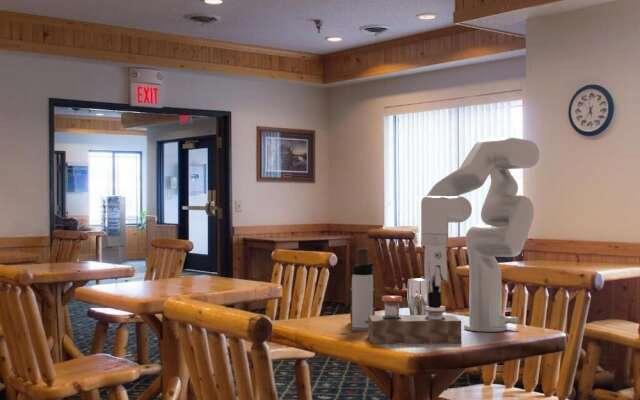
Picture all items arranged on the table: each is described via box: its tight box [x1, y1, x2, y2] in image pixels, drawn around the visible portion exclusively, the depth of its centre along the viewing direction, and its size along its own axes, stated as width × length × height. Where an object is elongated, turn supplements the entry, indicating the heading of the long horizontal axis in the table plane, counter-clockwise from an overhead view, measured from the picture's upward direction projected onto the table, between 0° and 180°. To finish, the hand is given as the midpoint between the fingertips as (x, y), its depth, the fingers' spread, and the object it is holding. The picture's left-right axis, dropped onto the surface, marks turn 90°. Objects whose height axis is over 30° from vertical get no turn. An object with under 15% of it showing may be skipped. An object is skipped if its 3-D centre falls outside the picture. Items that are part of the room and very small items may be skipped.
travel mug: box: [351, 262, 375, 332], centre depth 228 cm, size 6×7×20 cm
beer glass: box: [406, 278, 429, 315], centre depth 229 cm, size 7×7×15 cm
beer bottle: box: [349, 247, 376, 324], centre depth 243 cm, size 8×8×24 cm
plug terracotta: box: [381, 295, 403, 319], centre depth 210 cm, size 6×6×8 cm
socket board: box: [367, 314, 462, 345], centre depth 210 cm, size 24×12×6 cm, turn 91°
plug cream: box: [425, 305, 446, 319], centre depth 210 cm, size 6×6×8 cm
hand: (434, 306), depth 210 cm, fingers closed
